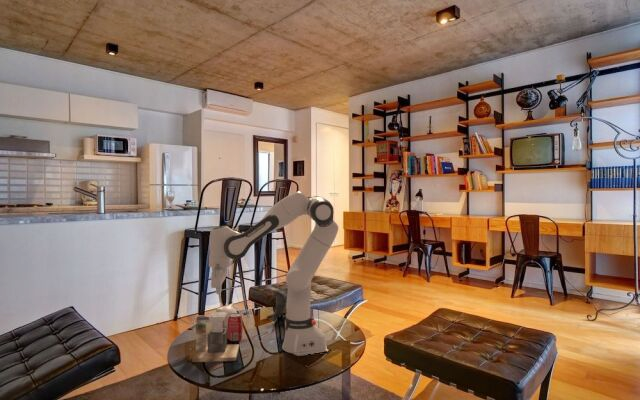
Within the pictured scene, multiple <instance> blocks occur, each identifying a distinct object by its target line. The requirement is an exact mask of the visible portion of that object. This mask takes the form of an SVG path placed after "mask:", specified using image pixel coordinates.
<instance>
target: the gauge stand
mask: <svg viewBox="0 0 640 400" xmlns="http://www.w3.org/2000/svg"><path fill="white" fill-rule="evenodd" d="M197 317H207V314H206V315H196V318H197ZM195 322H196V325H195V327H196V328H195V334H196V335H195V352H194V354H193V356H192V358H191V362H192V363H207V362H236V361H237V359H238V358H237V357H238V353H239V349H240V344H237V343H236V344H235V343H234V344H232V343H230V344H229V343H228V330H227V328H224V333H221V334H212V328H210V330H209V332H208V333H207V320H197V319H196V321H195ZM198 326H201V329H198ZM207 334H208V335H207ZM207 336H208V337H207ZM206 341H207V343H206Z"/></svg>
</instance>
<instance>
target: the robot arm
mask: <svg viewBox="0 0 640 400" xmlns="http://www.w3.org/2000/svg"><path fill="white" fill-rule="evenodd" d="M334 211H335V210H334V206H333V204H332V203H331V202H330V201H329V200H328V199H326V198H325V197H323V196H318V195H315V196H307V195H306V194H305V193H303V192H302V191H299V190H297V191H295V192H293V193H291V194H288V195H286V196H285V197H284V198H282V199H280V201H277V202H276V203H275V204H274V205H272V206H271V207H270V208H269V210H268V211H267V212H266V213H265V215H264V216H263V217H262V218H261V219H260V221H258V222H257V223H256V224H254V225H253V226H252V227H250V228H248V229H247V230H246V231H244V232H243V233H241V232H238V231H236V230H234V229H232V228H230V227H229V226H228V225H221V226H217V227H216V226H215V227H214V228H212V229H211V230H210V232H209V233H210V234H209V240H208V241H209V243H208V244H209V253H208V267H209V268H211V275H210V277H211V279H210V280H211V281H210V283H211V284H210V287H211V289H215V291H216V292H215V293H216V295H220V294H221V293H222V287H223V283H224V281H225V280H226V278H227V271H228V268H229V266H230V259H231V260H241V259H242V258H244V257H245V256H246V255H247V253H248V251H249V250H250V248H251V247H252V246H253V245H255V243H257V242H258V241H260V240H261V239H263V238H264V237H265V236H266V235H268V234H270V233H271V232H274V231H276V230H279V229H282V228H283V227H285V226H288V225H289V224H291V223H292V222H294V221H295V220H297V219H298V218H299V217H301V216H303V215H304V216H305V215H307V216H308V217H309V218H310V219H311V220H313V221H314V222H315V223H314V228H313V230H312V231H311V233H310V234H309V236H308V238H307V239H306V241H305V243H304V244H303V246H302V248H301V249H300V251H299V253H298V254H297V256H296V258H295V260H294V261H293V263H292V265H291V266H290V267H289V270H288V271H287V273H286V276H285V282H286V285H287V289H288V294H287V310H286V312H285V317H284V318H285V319H284V330H285V332H284V333H285V334H284V338H283V339H284V340H283V343H282V347H281V348H282V350H283V351H284V352H287V353H289V354H293V355H295V356H297V357H300V356H309V355H308V354H311V355H315V354H314V353H319V352H324V351H328V349H327V346H326V340H327V339H326V335H325V333H324V331H323V330H321V329H320V328H319V327H317V326H316V324H317V321H316V320H315V318H314V317H313V316H311V294H312V280H313V278H314V276H315V275H316V273H317V271H318V269H319V267H320V266H321V264H322V262H323V260H324V259H325V257H326V255H327V254H328V252H329V250H330V248H331V247H332V245H333V243H334V241H335V239H336V236H337V235H338V232H339V225H338V223H337V222H336V221H335V220H334V213H335V212H334Z"/></svg>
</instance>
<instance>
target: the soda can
mask: <svg viewBox="0 0 640 400" xmlns="http://www.w3.org/2000/svg"><path fill="white" fill-rule="evenodd" d="M243 320H244V319H243V315H242V313H240V312H239V313H238V312H237V313H233V314H230V315H229V318H228V330H227V340H229V341H230V342H239V341H240V340H241V339H242V338H243V323H244V322H243Z"/></svg>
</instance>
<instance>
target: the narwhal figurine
mask: <svg viewBox="0 0 640 400" xmlns="http://www.w3.org/2000/svg"><path fill="white" fill-rule="evenodd" d="M267 289H268V290H270V291H271V293H273V295H272V296H271V297H270V299H268V302H270V301H272V300H273V299H275V303H276V304H275V306H276V307H275V311H274V312H272V313H271V314H268V315H267V316H266V319H267V318H270V319H271V320H272V321H275V320H276V319H279V318H278V316H279V315H280V314H283V313H285V314H286V312H287V294H288V287H285V286H281V287H280V288H279V289H278V290H274V289H272V288H269V287H268V288H267Z"/></svg>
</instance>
